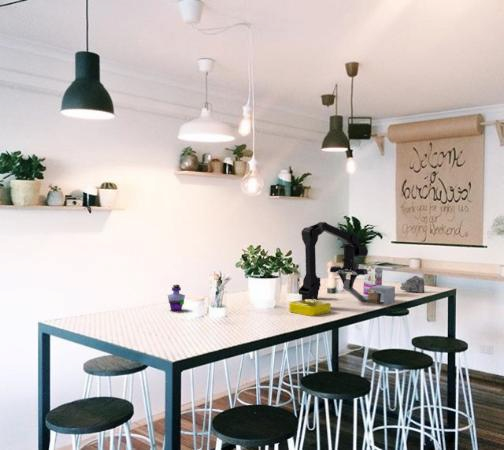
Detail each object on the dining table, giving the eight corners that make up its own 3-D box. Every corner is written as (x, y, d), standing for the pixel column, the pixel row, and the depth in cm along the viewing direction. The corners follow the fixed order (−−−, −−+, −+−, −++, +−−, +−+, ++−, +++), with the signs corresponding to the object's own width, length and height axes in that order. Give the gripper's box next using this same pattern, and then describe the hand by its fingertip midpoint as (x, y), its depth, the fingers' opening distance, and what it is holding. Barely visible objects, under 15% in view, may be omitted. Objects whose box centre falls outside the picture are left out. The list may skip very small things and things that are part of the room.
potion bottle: (181, 312, 243) (182, 286, 242) (164, 311, 244) (164, 285, 244) (187, 308, 251) (188, 283, 251) (170, 308, 253) (170, 283, 252)
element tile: (287, 311, 248) (287, 301, 248) (307, 307, 259) (307, 298, 259) (312, 316, 238) (312, 306, 238) (332, 312, 248) (332, 302, 248)
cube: (377, 304, 274) (377, 294, 274) (368, 303, 277) (368, 293, 277) (380, 302, 279) (380, 293, 278) (371, 301, 281) (371, 292, 281)
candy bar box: (382, 296, 300) (382, 267, 300) (375, 296, 298) (375, 268, 298) (369, 293, 310) (370, 265, 310) (363, 293, 308) (363, 266, 308)
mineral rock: (399, 291, 320) (399, 275, 320) (408, 290, 328) (408, 274, 328) (418, 294, 311) (419, 277, 311) (427, 292, 319) (427, 276, 318)
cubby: (385, 304, 272) (385, 289, 272) (368, 302, 277) (369, 287, 277) (394, 301, 284) (394, 286, 283) (378, 299, 289) (378, 285, 288)
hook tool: (354, 289, 266) (356, 279, 268) (342, 288, 270) (344, 278, 271) (368, 301, 282) (370, 292, 284) (357, 299, 286) (359, 291, 288)
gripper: (372, 257, 273) (371, 287, 273) (339, 255, 283) (338, 283, 283) (363, 258, 263) (363, 289, 264) (329, 256, 274) (329, 286, 274)
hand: (348, 287), depth 271 cm, fingers closed on hook tool, 3 cm apart
